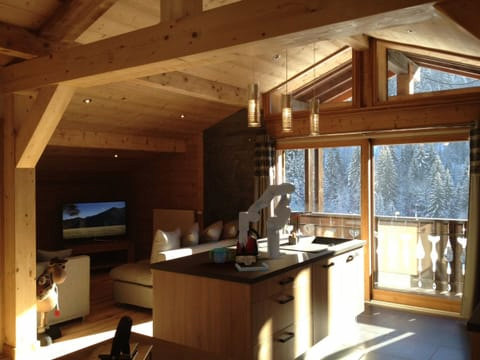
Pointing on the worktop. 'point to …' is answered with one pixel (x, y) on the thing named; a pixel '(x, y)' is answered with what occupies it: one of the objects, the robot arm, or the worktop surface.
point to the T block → (246, 259)
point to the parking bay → (253, 268)
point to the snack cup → (220, 254)
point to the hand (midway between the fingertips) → (243, 252)
